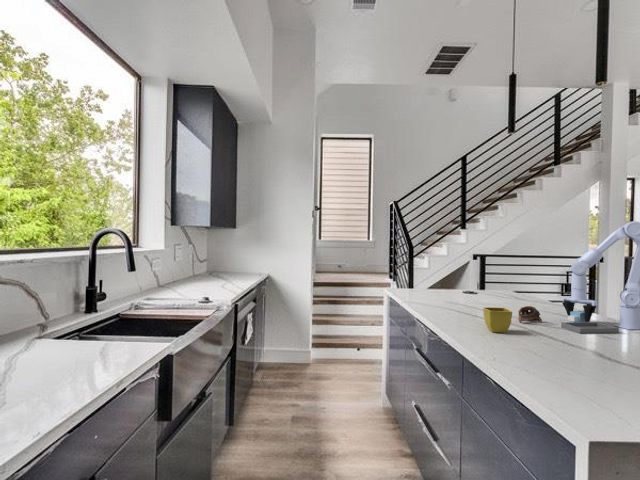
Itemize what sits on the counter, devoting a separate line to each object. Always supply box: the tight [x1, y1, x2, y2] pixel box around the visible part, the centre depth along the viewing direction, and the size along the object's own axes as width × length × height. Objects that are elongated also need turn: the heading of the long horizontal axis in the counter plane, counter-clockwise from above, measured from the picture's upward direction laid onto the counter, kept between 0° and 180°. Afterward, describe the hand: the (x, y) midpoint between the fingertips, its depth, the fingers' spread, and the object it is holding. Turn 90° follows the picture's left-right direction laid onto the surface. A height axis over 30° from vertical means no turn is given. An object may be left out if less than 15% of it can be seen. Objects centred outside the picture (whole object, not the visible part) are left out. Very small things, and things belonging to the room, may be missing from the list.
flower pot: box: [483, 306, 513, 334], centre depth 162 cm, size 9×9×9 cm
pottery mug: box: [518, 305, 543, 324], centre depth 180 cm, size 12×10×8 cm
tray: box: [560, 321, 620, 335], centre depth 164 cm, size 16×12×2 cm
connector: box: [567, 310, 585, 322], centre depth 177 cm, size 10×4×5 cm, turn 113°
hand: (578, 319), depth 177 cm, fingers open, 7 cm apart
